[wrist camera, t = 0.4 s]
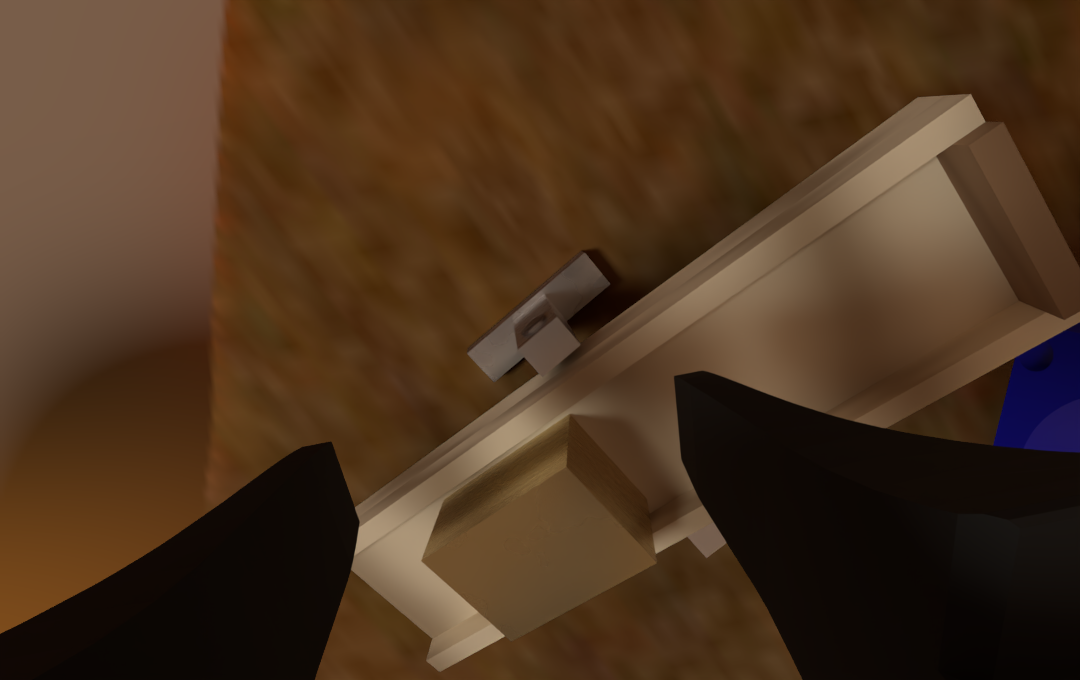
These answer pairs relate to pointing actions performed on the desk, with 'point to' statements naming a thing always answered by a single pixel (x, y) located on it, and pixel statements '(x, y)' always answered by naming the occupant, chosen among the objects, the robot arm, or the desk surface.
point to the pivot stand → (554, 340)
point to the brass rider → (541, 531)
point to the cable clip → (1044, 397)
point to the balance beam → (775, 334)
